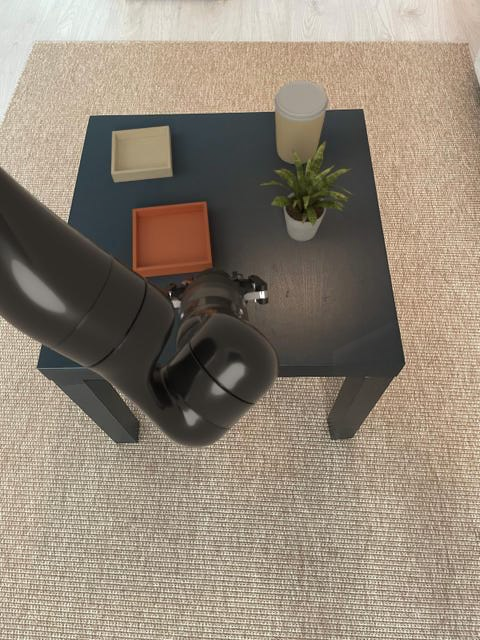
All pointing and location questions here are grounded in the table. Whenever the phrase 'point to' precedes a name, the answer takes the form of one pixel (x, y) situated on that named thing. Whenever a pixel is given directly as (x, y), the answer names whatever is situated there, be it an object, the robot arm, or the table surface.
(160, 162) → the cream tray
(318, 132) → the coffee cup
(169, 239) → the terracotta tray
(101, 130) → the table surface
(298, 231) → the house plant
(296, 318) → the table surface
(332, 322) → the table surface
